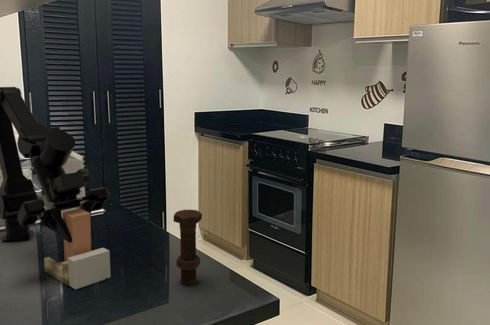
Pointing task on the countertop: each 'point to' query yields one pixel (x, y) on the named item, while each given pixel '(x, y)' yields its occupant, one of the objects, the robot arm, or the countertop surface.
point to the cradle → (57, 269)
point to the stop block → (89, 268)
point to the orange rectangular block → (77, 232)
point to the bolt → (188, 244)
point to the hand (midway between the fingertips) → (80, 239)
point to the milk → (71, 167)
